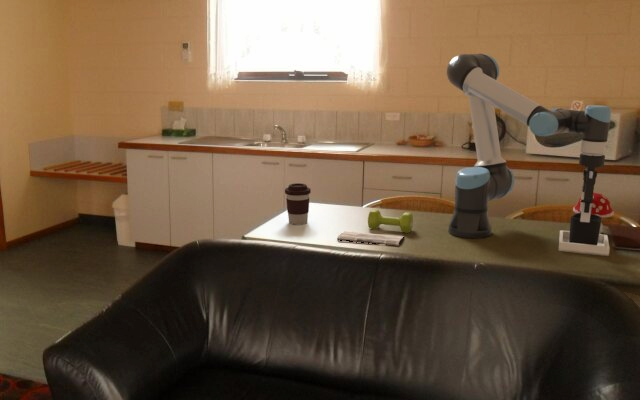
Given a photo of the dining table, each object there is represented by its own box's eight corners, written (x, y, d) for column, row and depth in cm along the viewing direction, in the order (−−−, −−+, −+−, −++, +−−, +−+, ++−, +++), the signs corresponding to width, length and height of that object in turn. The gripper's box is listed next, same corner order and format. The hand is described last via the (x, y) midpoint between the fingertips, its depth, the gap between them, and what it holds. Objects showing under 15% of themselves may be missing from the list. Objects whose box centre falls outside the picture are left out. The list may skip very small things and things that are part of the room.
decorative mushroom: (616, 239, 206) (621, 198, 202) (574, 237, 209) (578, 196, 205) (606, 228, 219) (610, 189, 216) (566, 226, 222) (570, 188, 218)
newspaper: (335, 243, 205) (335, 236, 204) (345, 237, 216) (345, 230, 216) (399, 249, 197) (400, 242, 197) (406, 242, 209) (406, 235, 208)
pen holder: (562, 241, 202) (565, 213, 200) (588, 240, 203) (591, 212, 201) (577, 250, 193) (580, 220, 190) (604, 249, 194) (607, 219, 192)
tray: (558, 250, 194) (559, 242, 193) (559, 238, 207) (560, 230, 207) (608, 256, 188) (609, 247, 188) (606, 243, 202) (607, 234, 201)
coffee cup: (315, 221, 230) (315, 184, 227) (301, 227, 222) (301, 188, 219) (295, 217, 236) (294, 181, 232) (280, 223, 227) (279, 185, 224)
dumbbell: (365, 230, 218) (366, 211, 217) (372, 225, 225) (372, 207, 224) (409, 235, 212) (409, 216, 210) (414, 229, 219) (415, 211, 218)
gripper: (607, 161, 178) (598, 227, 183) (603, 148, 200) (595, 208, 206) (580, 159, 181) (572, 224, 186) (579, 147, 203) (572, 206, 208)
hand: (584, 216), depth 196 cm, fingers open, 13 cm apart
